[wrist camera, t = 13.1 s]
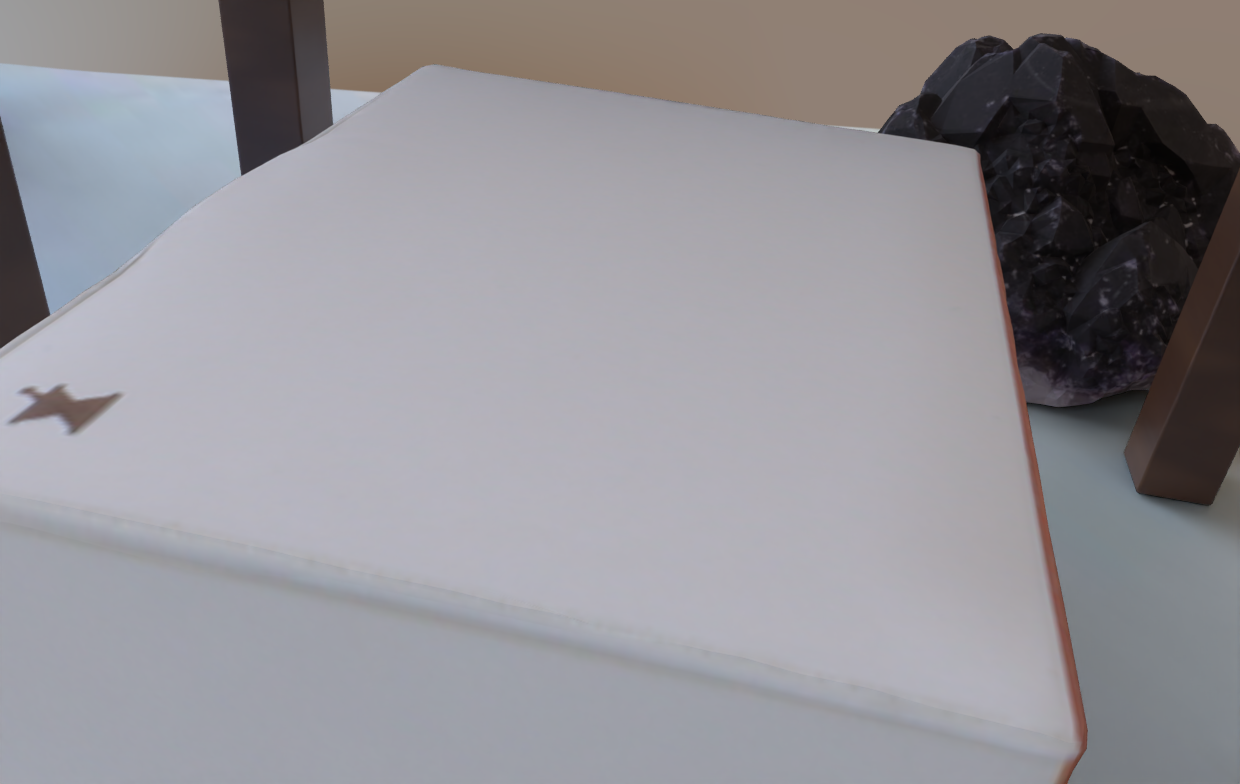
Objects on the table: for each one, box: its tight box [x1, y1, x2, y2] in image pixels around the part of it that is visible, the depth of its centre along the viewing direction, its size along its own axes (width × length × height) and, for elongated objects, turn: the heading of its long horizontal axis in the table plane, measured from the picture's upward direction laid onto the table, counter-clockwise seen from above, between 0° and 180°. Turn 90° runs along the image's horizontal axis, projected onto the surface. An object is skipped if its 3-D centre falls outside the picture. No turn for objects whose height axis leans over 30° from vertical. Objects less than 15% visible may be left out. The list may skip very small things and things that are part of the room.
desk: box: [0, 0, 1240, 505], centre depth 21 cm, size 28×16×18 cm, turn 78°
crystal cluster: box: [878, 33, 1240, 407], centre depth 36 cm, size 13×14×10 cm
